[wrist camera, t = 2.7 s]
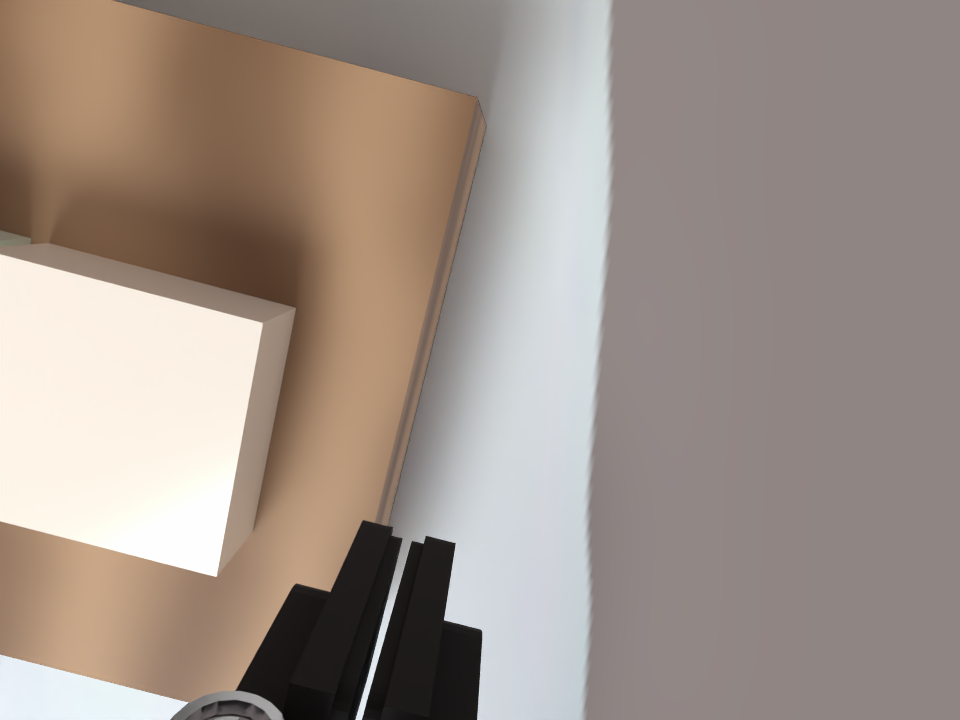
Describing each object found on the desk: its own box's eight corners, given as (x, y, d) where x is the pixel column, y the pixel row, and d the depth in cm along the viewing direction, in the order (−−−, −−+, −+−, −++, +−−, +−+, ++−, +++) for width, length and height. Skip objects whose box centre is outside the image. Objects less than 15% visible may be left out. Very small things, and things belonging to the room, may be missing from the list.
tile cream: (296, 307, 18) (262, 323, 16) (252, 532, 20) (216, 576, 17) (49, 243, 18) (-23, 248, 16) (24, 472, 20) (-44, 510, 17)
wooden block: (486, 126, 23) (477, 97, 17) (363, 623, 27) (323, 736, 21) (-200, -57, 22) (-451, -150, 17) (-208, 476, 27) (-407, 550, 21)
